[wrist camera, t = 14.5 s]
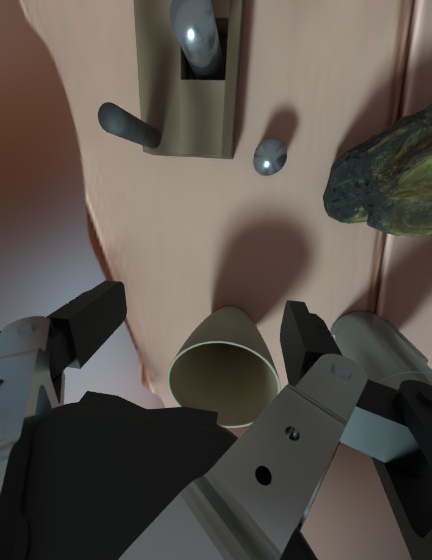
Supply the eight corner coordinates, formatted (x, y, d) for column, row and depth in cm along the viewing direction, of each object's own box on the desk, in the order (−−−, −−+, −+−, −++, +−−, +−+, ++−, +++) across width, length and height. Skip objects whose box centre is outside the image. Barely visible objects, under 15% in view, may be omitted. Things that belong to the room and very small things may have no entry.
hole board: (245, -17, 26) (243, -206, 14) (232, 158, 33) (222, 143, 21) (146, -14, 28) (57, -186, 15) (154, 155, 35) (98, 137, 22)
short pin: (283, 145, 32) (289, 138, 27) (279, 176, 34) (283, 175, 29) (255, 144, 32) (256, 137, 28) (251, 175, 34) (252, 173, 29)
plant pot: (268, 354, 46) (278, 432, 31) (197, 351, 48) (174, 423, 34) (271, 286, 40) (284, 344, 26) (189, 286, 42) (159, 339, 28)
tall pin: (225, 46, 29) (213, -18, 20) (222, 86, 30) (211, 43, 21) (194, 46, 29) (168, -17, 20) (193, 85, 31) (170, 43, 22)
